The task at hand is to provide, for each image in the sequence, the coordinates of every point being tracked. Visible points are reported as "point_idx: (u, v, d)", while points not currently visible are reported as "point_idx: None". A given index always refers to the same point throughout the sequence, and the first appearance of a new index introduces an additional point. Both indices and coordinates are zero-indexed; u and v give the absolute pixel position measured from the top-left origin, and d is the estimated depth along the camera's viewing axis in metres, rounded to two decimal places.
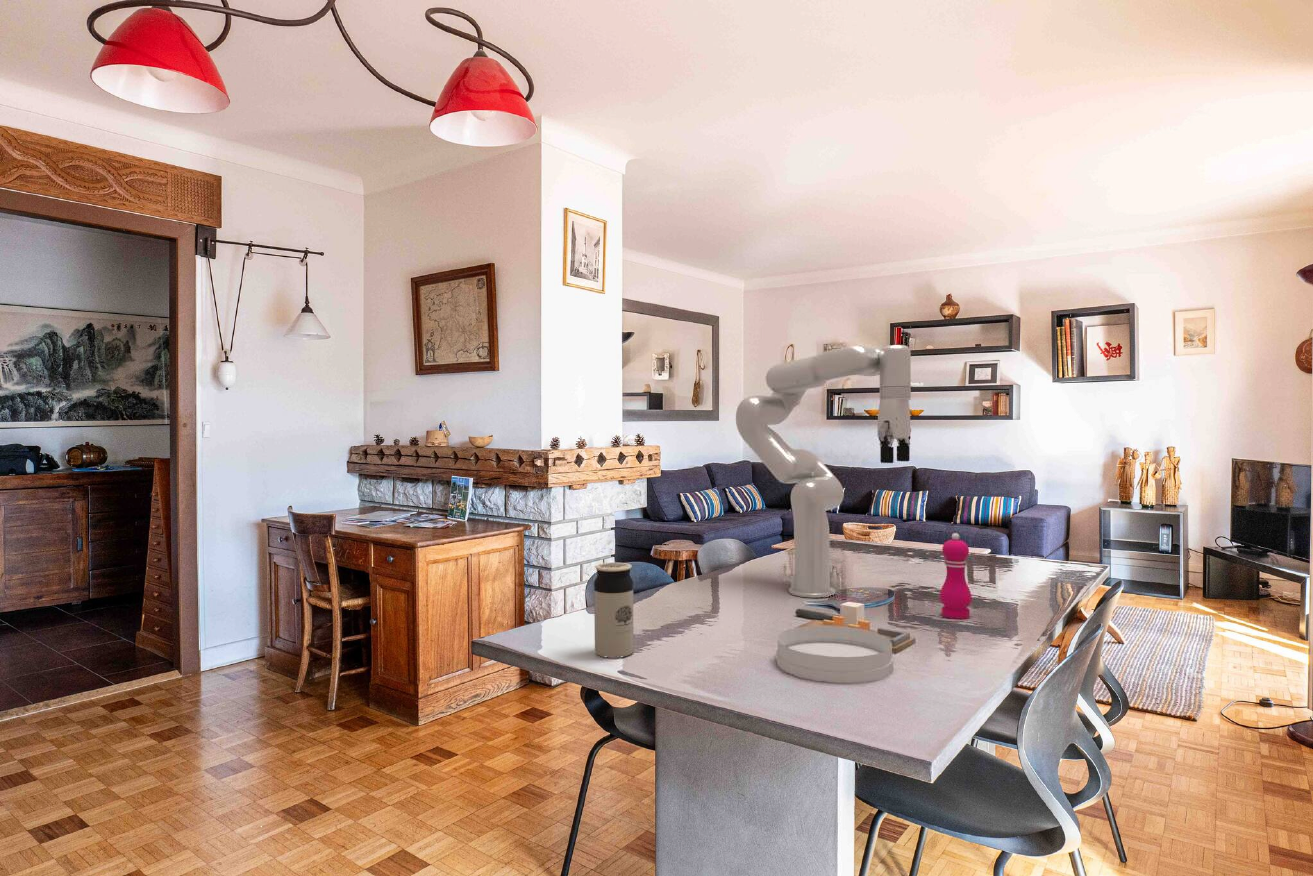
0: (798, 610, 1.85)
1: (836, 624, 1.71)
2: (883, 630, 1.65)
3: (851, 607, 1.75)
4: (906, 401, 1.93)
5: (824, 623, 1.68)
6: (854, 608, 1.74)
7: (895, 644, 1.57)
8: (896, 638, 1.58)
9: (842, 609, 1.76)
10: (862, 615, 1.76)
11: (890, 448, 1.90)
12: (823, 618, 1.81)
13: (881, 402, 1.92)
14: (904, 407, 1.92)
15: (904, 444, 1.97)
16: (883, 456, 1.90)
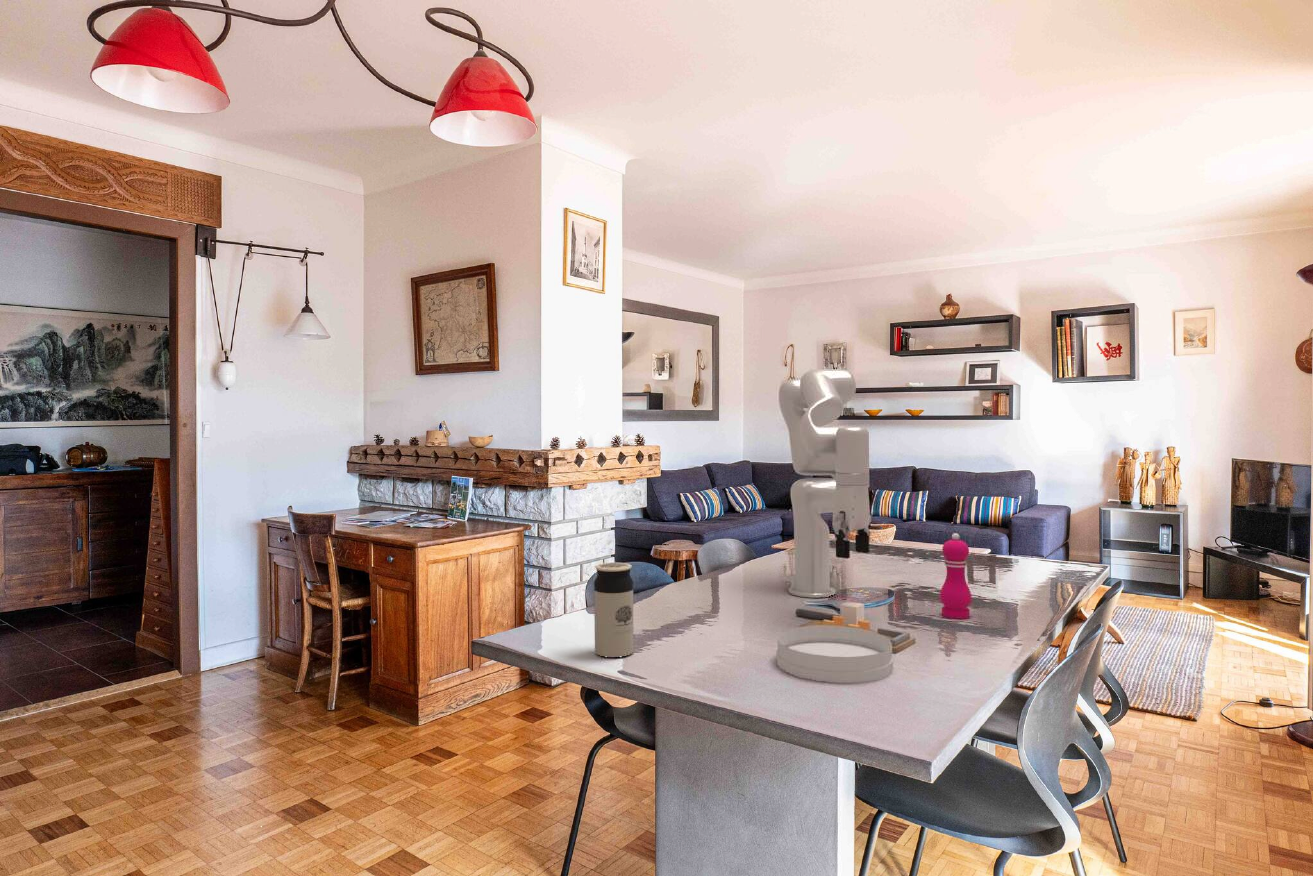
0: (798, 610, 1.85)
1: (836, 624, 1.71)
2: (883, 630, 1.65)
3: (851, 607, 1.75)
4: (864, 488, 1.75)
5: (824, 623, 1.68)
6: (854, 608, 1.74)
7: (895, 644, 1.57)
8: (896, 638, 1.58)
9: (842, 609, 1.76)
10: (862, 615, 1.76)
11: (846, 542, 1.72)
12: (823, 618, 1.81)
13: (837, 490, 1.74)
14: (862, 496, 1.74)
15: (863, 534, 1.80)
16: (838, 550, 1.72)
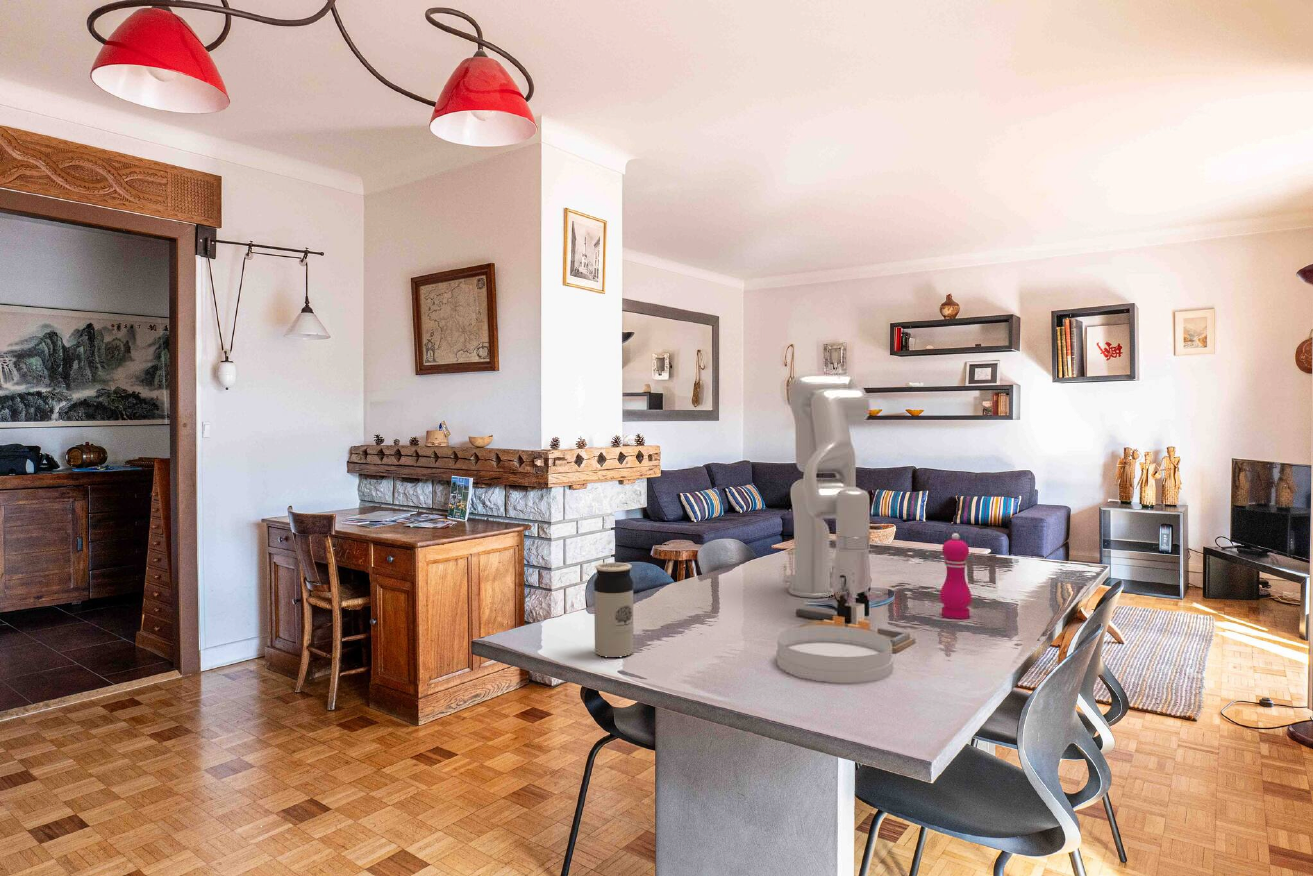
0: (798, 610, 1.85)
1: (836, 624, 1.71)
2: (883, 630, 1.65)
3: (851, 607, 1.75)
4: (865, 551, 1.75)
5: (824, 623, 1.68)
6: (854, 608, 1.74)
7: (895, 644, 1.57)
8: (896, 638, 1.58)
9: None
10: (862, 615, 1.76)
11: (847, 607, 1.72)
12: (823, 618, 1.81)
13: (837, 553, 1.74)
14: (862, 559, 1.74)
15: (863, 597, 1.79)
16: None
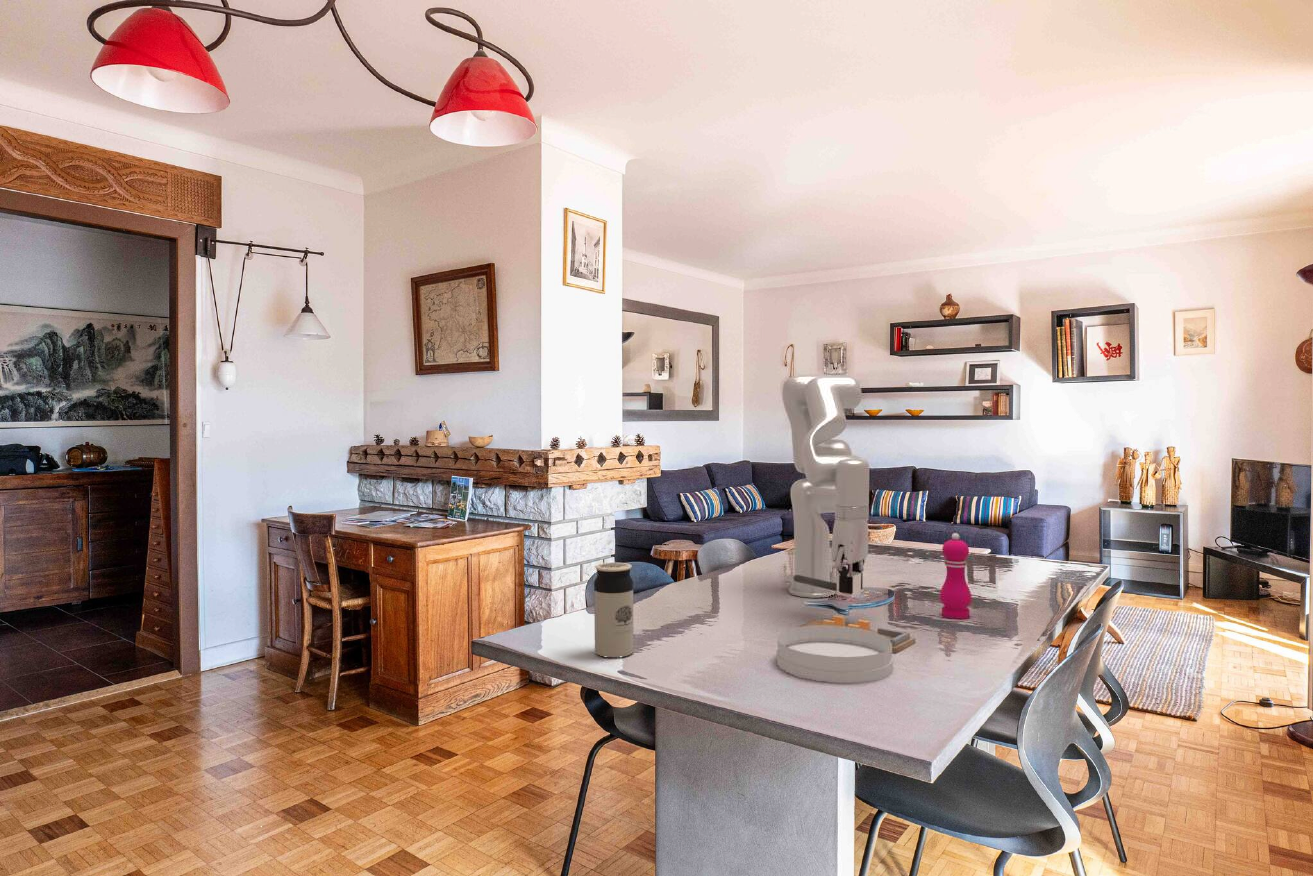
0: (796, 576, 1.87)
1: (836, 624, 1.71)
2: (883, 630, 1.65)
3: None
4: (864, 520, 1.76)
5: (824, 623, 1.68)
6: None
7: (895, 644, 1.57)
8: (896, 638, 1.58)
9: None
10: (858, 584, 1.77)
11: (849, 578, 1.75)
12: (820, 585, 1.82)
13: (836, 523, 1.74)
14: (861, 528, 1.75)
15: (857, 569, 1.79)
16: (842, 586, 1.75)
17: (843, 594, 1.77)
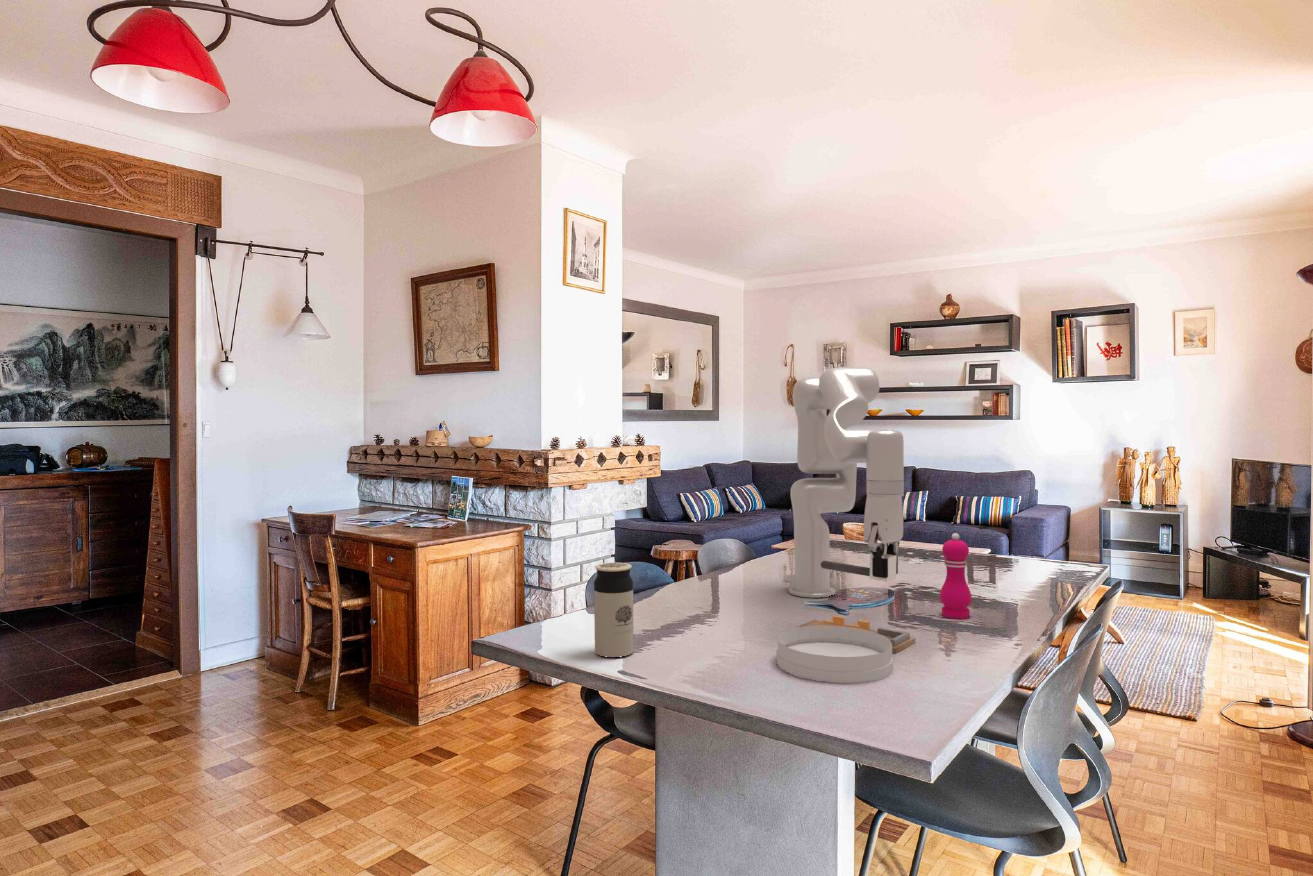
0: (823, 562, 1.71)
1: (836, 624, 1.71)
2: (883, 630, 1.65)
3: None
4: (898, 497, 1.61)
5: (824, 623, 1.68)
6: None
7: (895, 644, 1.57)
8: (896, 638, 1.58)
9: None
10: (894, 567, 1.61)
11: (884, 560, 1.59)
12: (851, 570, 1.66)
13: (868, 499, 1.59)
14: (896, 505, 1.60)
15: (891, 551, 1.63)
16: (876, 569, 1.59)
17: (877, 578, 1.61)
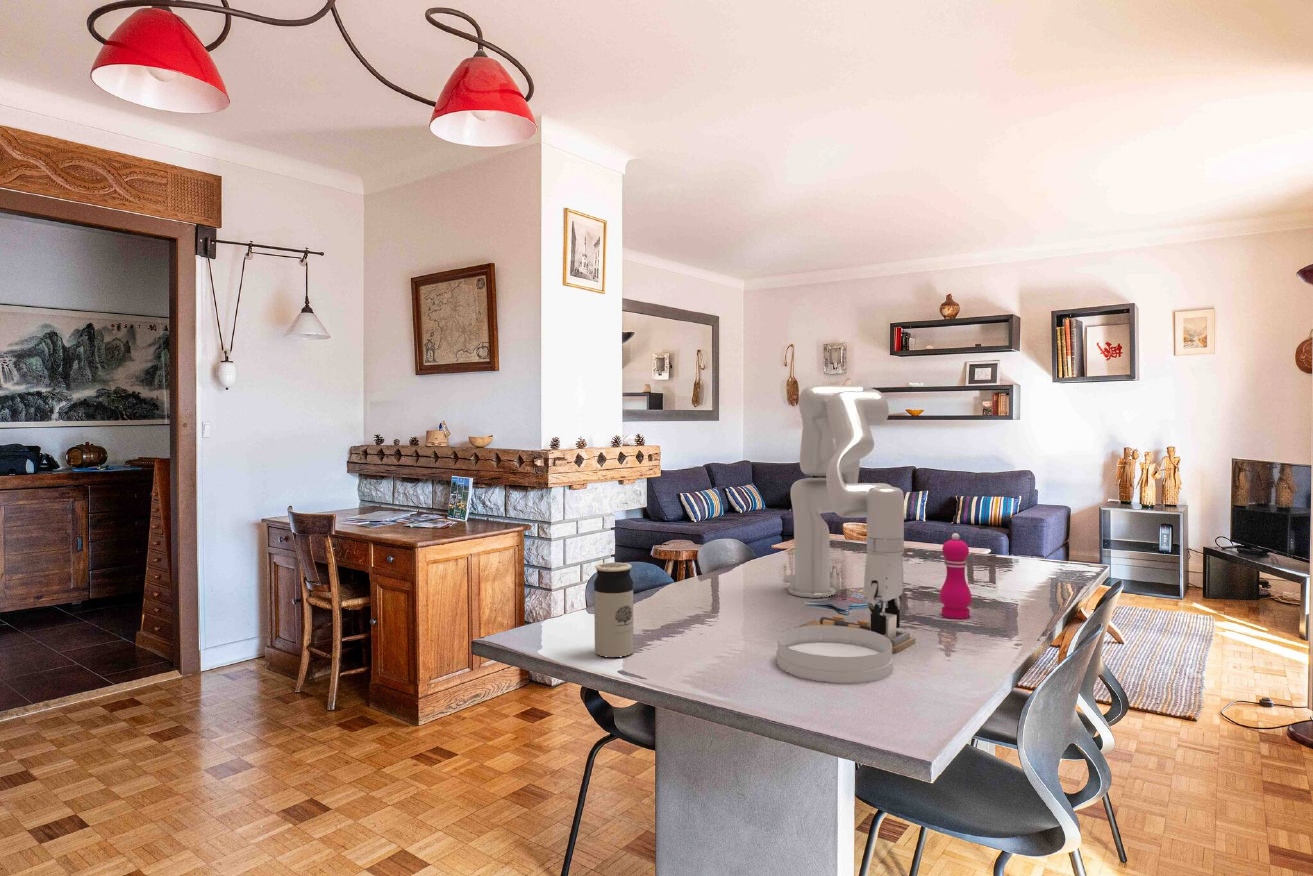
0: (823, 618, 1.71)
1: None
2: None
3: None
4: None
5: (824, 623, 1.68)
6: (886, 620, 1.60)
7: (895, 644, 1.57)
8: (896, 638, 1.58)
9: None
10: (894, 627, 1.62)
11: (882, 617, 1.59)
12: None
13: (869, 556, 1.59)
14: (896, 563, 1.60)
15: (893, 606, 1.64)
16: (874, 626, 1.59)
17: None
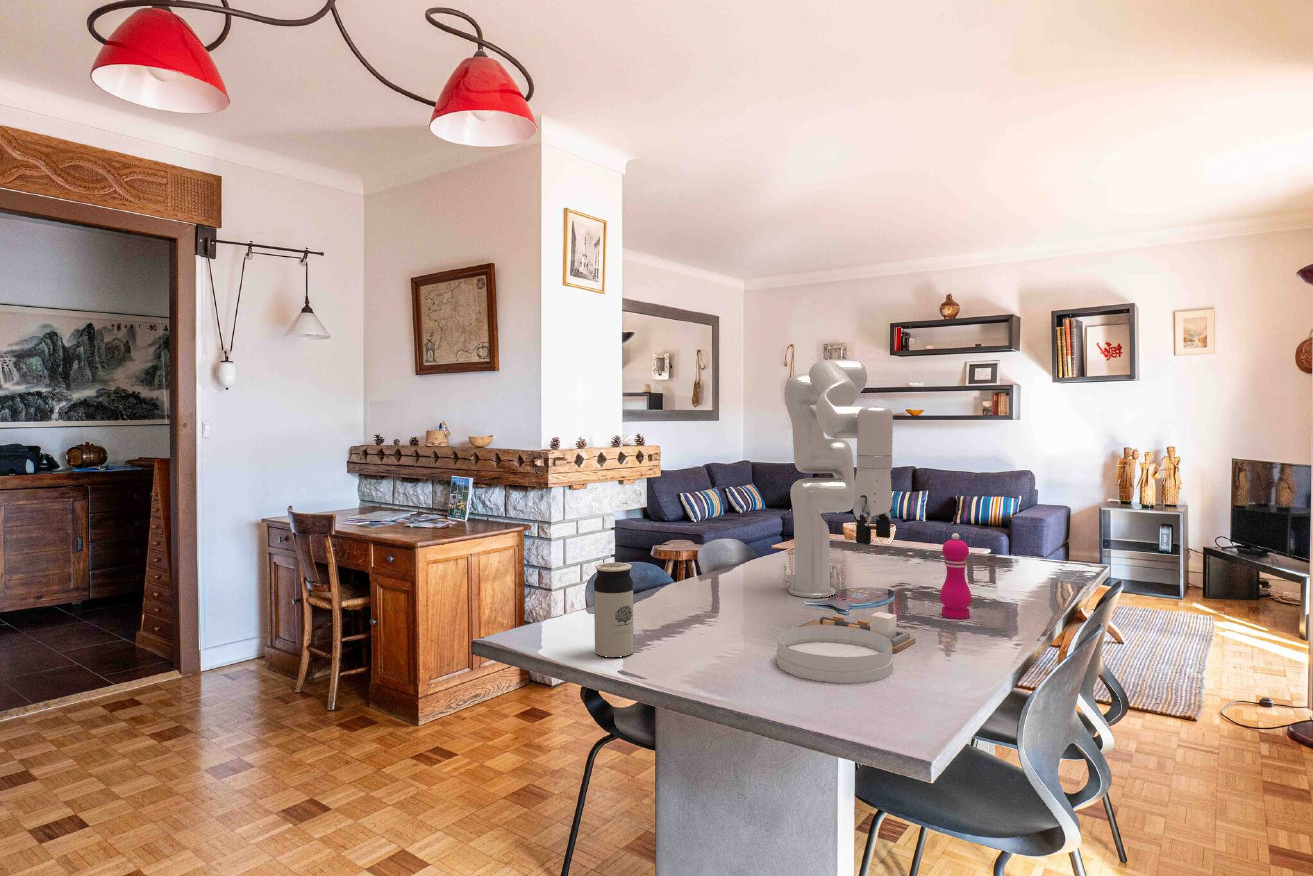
0: (823, 618, 1.71)
1: None
2: None
3: (883, 618, 1.60)
4: (887, 471, 1.68)
5: (824, 623, 1.68)
6: (886, 620, 1.60)
7: (895, 644, 1.57)
8: (896, 638, 1.58)
9: (872, 620, 1.62)
10: (894, 627, 1.62)
11: (867, 527, 1.64)
12: None
13: (858, 473, 1.66)
14: (884, 479, 1.67)
15: (884, 518, 1.72)
16: (859, 536, 1.65)
17: None
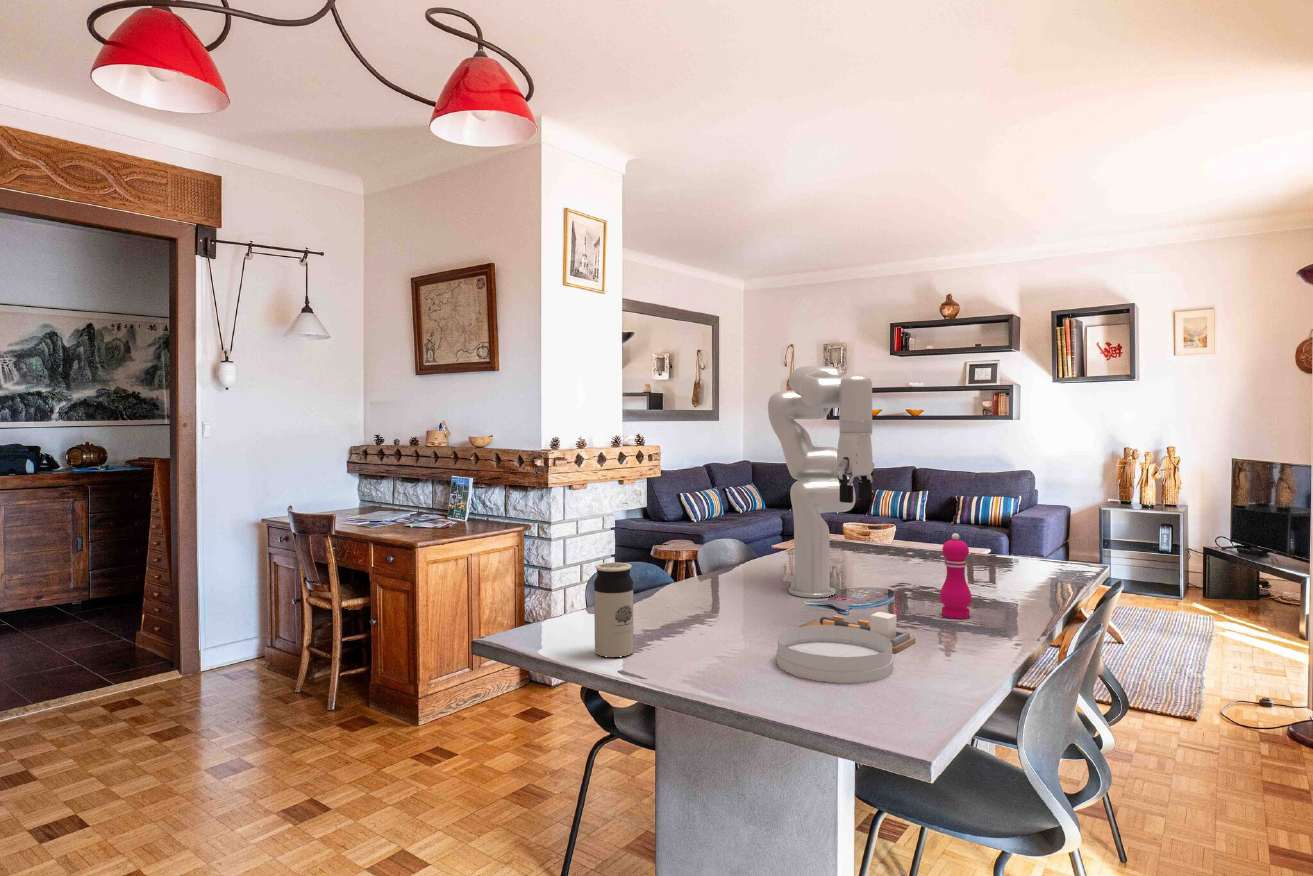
0: (823, 618, 1.71)
1: None
2: None
3: (883, 618, 1.60)
4: (867, 436, 1.81)
5: (824, 623, 1.68)
6: (886, 620, 1.60)
7: (895, 644, 1.57)
8: (896, 638, 1.58)
9: (872, 620, 1.62)
10: (894, 627, 1.62)
11: (849, 487, 1.77)
12: None
13: (841, 437, 1.79)
14: (865, 443, 1.80)
15: (866, 481, 1.85)
16: (842, 495, 1.78)
17: None
